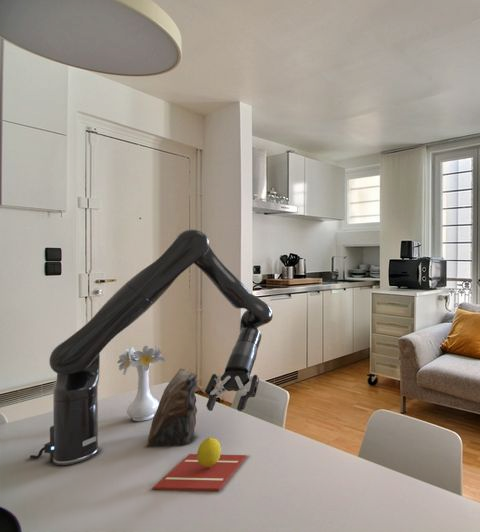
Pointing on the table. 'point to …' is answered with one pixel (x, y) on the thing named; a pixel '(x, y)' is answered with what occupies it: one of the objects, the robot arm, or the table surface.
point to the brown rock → (175, 412)
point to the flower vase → (141, 381)
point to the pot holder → (200, 474)
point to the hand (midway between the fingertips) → (224, 410)
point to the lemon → (208, 452)
